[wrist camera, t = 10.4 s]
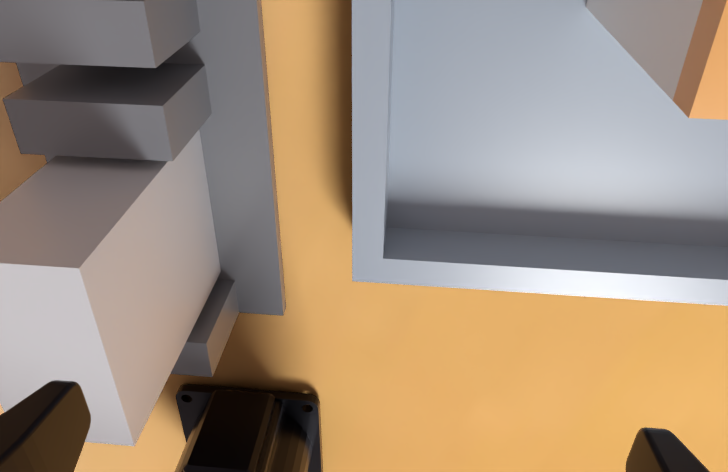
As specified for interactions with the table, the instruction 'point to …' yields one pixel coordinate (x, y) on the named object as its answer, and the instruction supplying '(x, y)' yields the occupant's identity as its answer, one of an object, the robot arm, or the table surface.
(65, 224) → the block
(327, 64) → the table surface
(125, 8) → the clip block
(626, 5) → the block
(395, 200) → the tray
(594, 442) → the table surface
